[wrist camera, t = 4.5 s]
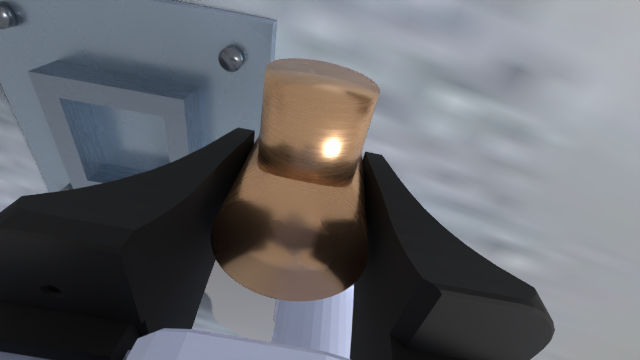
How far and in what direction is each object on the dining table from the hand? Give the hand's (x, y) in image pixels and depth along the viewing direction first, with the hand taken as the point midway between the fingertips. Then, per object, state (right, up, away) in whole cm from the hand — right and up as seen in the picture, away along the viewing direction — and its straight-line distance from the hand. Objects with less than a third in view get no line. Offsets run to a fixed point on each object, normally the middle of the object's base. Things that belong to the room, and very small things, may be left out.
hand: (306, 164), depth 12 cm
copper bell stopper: (0, +1, +1) cm, 2 cm away
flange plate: (-11, +3, +9) cm, 15 cm away
